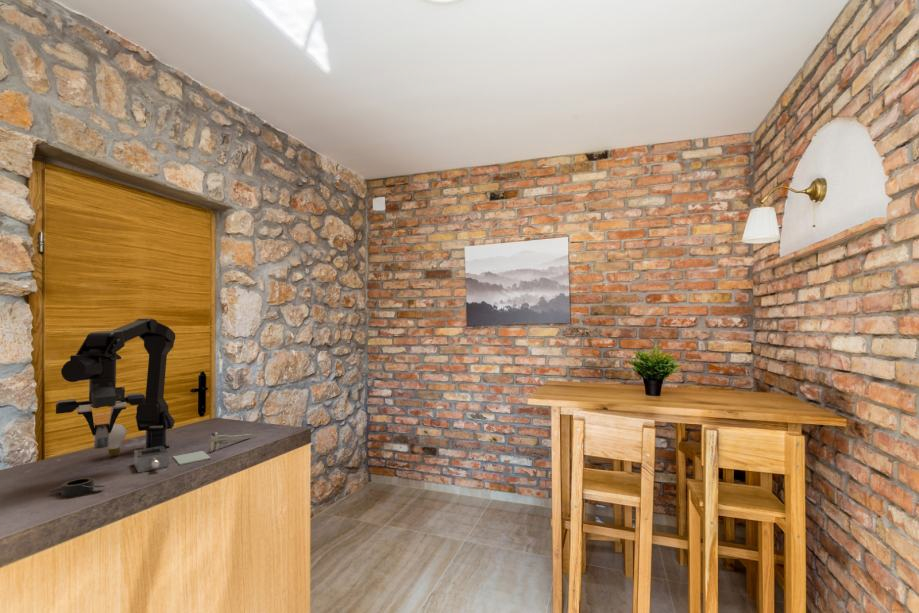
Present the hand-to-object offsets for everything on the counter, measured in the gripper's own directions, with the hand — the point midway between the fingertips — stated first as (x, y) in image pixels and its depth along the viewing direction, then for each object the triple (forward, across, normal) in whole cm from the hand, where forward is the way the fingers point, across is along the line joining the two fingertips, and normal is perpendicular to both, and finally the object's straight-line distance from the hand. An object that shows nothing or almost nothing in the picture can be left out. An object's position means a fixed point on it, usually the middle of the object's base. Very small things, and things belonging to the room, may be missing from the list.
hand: (101, 434), depth 117 cm
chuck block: (+11, +11, -4) cm, 16 cm away
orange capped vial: (+4, 0, 0) cm, 4 cm away
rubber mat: (+11, +21, -3) cm, 24 cm away
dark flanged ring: (+11, -5, -14) cm, 19 cm away
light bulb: (+11, +4, +17) cm, 21 cm away
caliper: (+11, +35, +5) cm, 37 cm away
